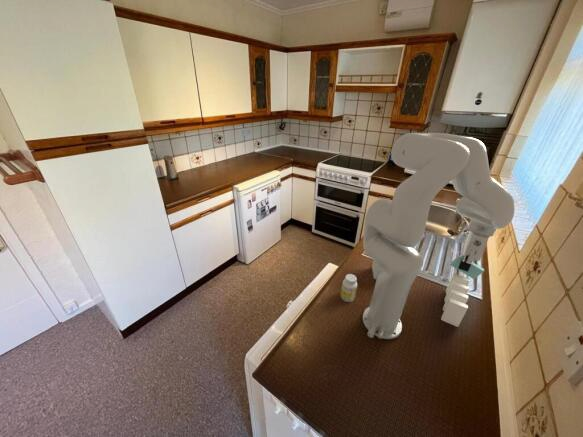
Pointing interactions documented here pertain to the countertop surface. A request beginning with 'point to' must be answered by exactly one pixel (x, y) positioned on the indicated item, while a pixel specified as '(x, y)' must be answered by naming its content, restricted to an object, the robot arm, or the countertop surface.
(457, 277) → the domino
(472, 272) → the domino
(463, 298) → the domino
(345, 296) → the supplement bottle
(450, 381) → the countertop surface
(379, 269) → the small box
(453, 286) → the domino
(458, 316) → the domino
